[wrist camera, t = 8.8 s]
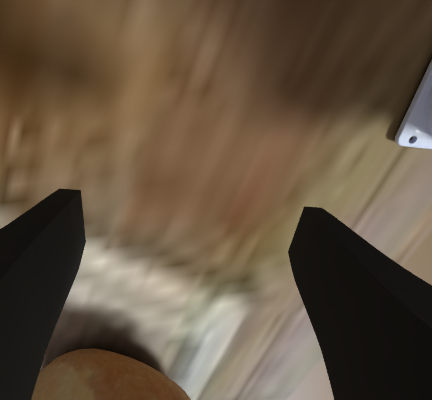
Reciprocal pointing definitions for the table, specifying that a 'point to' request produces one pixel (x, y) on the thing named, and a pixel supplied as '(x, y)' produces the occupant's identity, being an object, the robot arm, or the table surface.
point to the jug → (103, 379)
